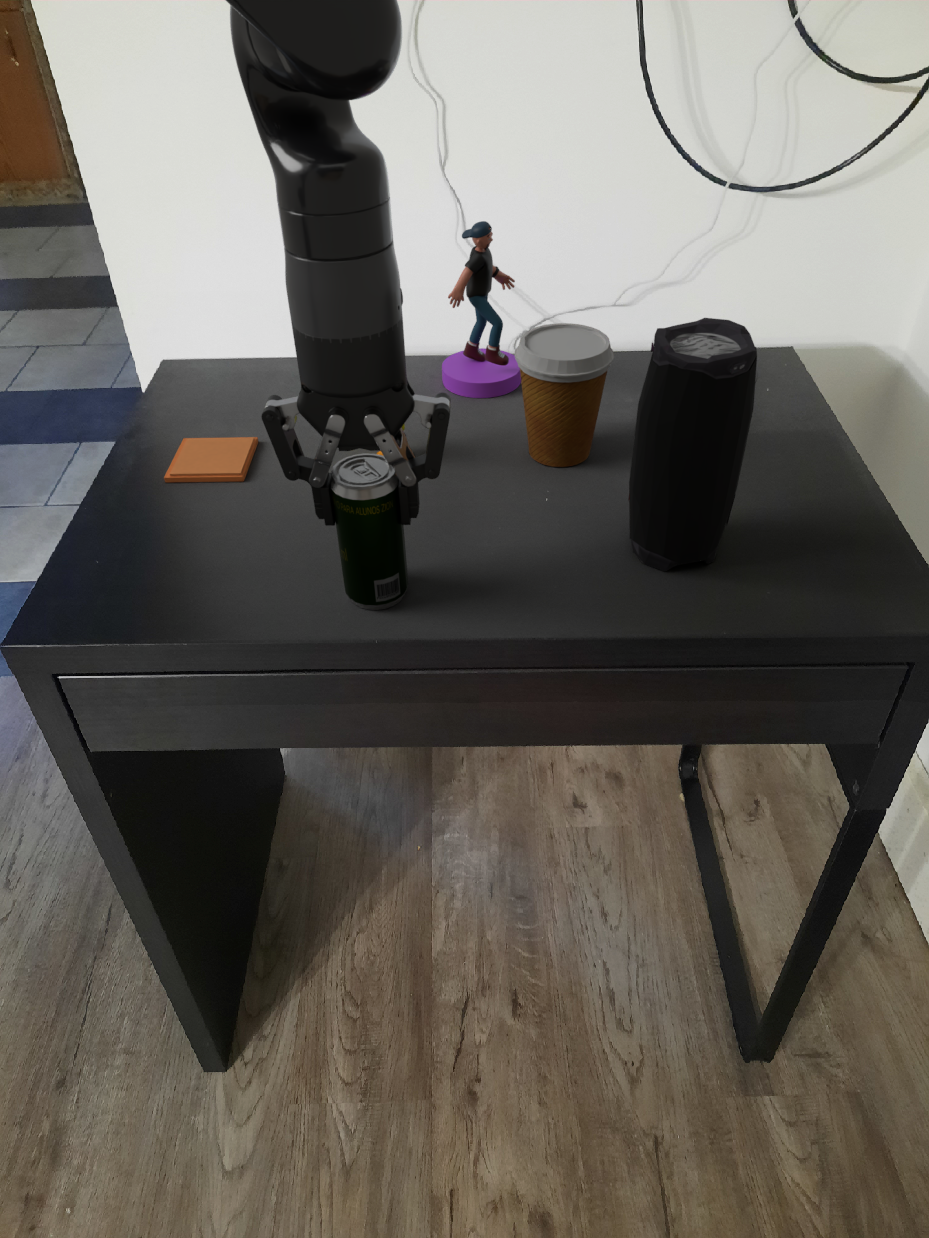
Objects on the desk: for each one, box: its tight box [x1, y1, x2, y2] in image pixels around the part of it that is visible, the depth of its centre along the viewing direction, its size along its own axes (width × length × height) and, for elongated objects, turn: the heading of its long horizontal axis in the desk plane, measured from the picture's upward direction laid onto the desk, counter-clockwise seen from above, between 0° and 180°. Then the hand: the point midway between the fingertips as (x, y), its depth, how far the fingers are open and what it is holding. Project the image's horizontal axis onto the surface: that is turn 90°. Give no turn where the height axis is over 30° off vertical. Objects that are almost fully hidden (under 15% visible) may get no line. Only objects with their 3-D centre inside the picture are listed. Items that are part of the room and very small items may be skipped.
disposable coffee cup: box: [514, 322, 615, 468], centre depth 90 cm, size 10×10×12 cm
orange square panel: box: [163, 436, 259, 483], centre depth 93 cm, size 8×8×1 cm
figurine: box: [441, 220, 521, 399], centre depth 101 cm, size 9×9×18 cm
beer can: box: [330, 452, 409, 611], centre depth 73 cm, size 5×5×12 cm
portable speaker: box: [627, 317, 758, 572], centre depth 74 cm, size 9×9×20 cm
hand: (369, 519), depth 72 cm, fingers closed on beer can, 5 cm apart
